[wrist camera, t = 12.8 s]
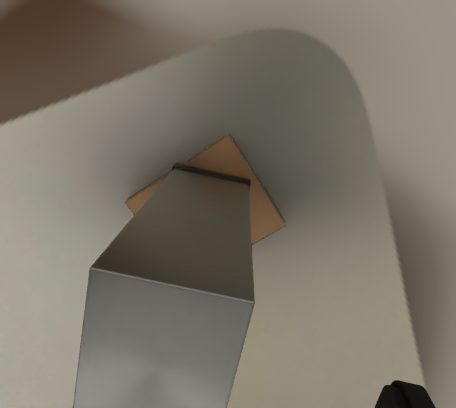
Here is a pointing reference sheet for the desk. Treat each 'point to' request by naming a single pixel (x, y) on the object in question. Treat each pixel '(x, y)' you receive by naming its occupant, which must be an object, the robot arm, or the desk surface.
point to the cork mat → (236, 166)
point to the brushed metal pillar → (171, 299)
